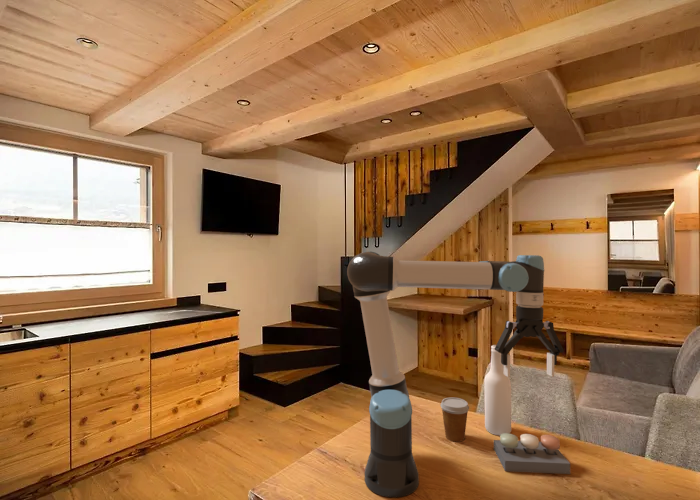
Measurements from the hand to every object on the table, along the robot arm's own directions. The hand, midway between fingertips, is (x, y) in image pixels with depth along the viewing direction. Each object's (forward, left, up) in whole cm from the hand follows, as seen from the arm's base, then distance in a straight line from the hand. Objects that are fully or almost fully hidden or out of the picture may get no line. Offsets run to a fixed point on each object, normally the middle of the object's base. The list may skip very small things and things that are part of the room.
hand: (528, 375), depth 115 cm
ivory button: (0, 0, -24) cm, 24 cm away
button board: (0, 0, -26) cm, 26 cm away
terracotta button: (+6, 0, -24) cm, 25 cm away
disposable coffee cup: (-20, +13, -26) cm, 35 cm away
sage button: (-6, 0, -24) cm, 25 cm away
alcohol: (-4, +19, -26) cm, 33 cm away
